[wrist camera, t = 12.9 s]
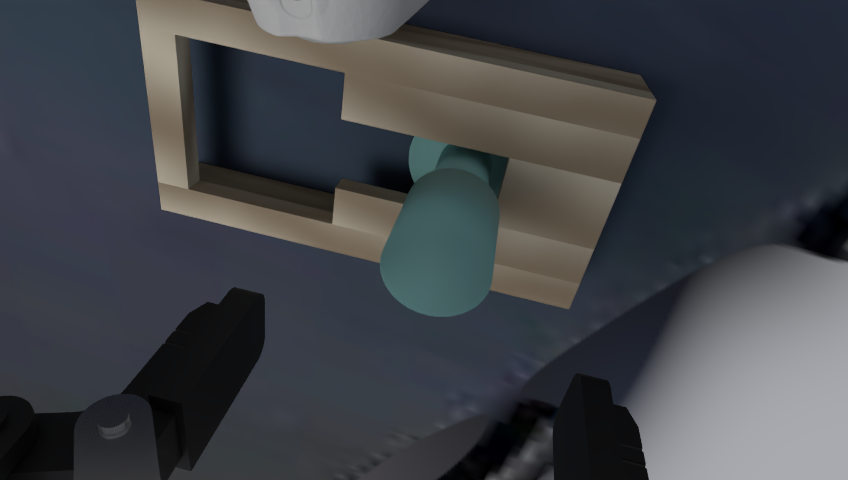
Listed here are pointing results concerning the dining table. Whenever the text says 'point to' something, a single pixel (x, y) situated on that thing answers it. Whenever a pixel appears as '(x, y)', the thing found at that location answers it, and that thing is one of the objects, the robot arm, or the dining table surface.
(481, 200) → the peg
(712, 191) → the dining table surface
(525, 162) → the keyhole plate
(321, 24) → the photo printer
